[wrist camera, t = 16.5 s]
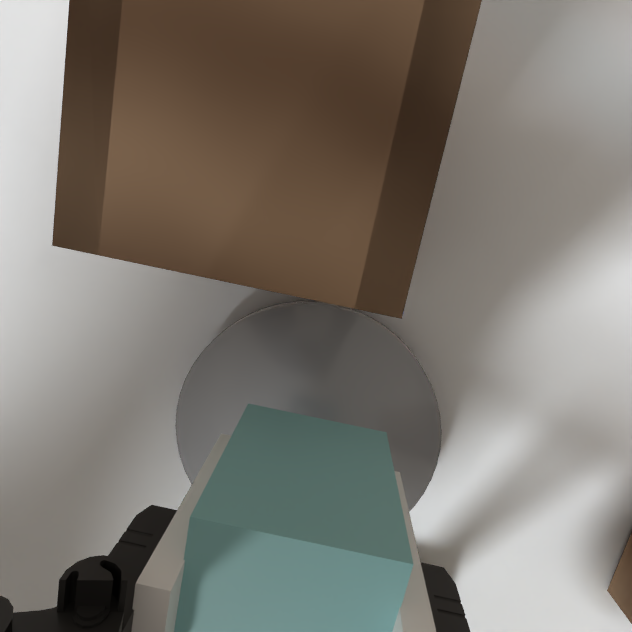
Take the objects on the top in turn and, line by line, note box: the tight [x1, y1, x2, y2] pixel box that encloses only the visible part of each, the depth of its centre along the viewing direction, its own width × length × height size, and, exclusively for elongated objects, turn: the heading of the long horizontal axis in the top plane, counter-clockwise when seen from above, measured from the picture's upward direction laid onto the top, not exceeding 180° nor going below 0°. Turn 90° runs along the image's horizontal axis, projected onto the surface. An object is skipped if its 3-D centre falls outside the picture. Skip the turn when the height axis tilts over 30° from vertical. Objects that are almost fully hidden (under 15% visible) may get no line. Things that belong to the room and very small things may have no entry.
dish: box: [176, 301, 441, 511], centre depth 20 cm, size 12×12×1 cm
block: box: [174, 404, 414, 632], centre depth 13 cm, size 5×5×6 cm
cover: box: [52, 0, 482, 319], centre depth 14 cm, size 9×9×8 cm
